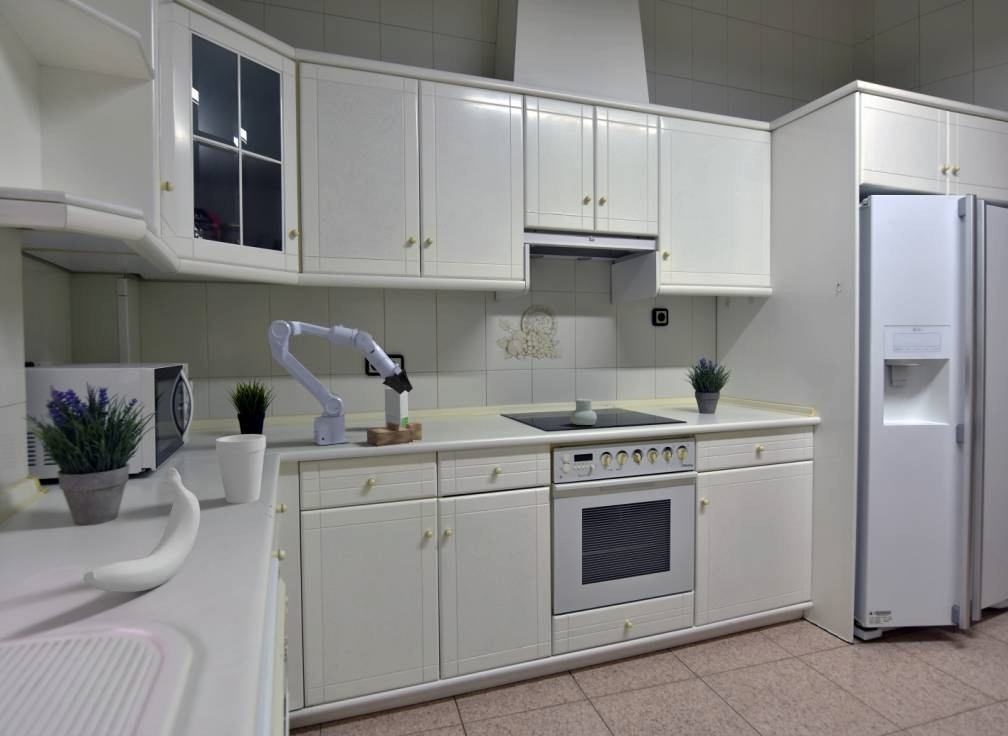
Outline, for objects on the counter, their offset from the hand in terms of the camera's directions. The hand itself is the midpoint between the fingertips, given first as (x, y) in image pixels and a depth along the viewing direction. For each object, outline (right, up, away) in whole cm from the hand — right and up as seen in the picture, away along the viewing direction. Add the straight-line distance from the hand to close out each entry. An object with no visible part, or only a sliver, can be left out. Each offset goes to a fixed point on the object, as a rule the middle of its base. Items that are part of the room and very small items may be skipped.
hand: (406, 391), depth 191 cm
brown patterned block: (+3, -16, -3) cm, 17 cm away
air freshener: (+64, -14, +25) cm, 70 cm away
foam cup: (-22, -20, -73) cm, 79 cm away
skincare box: (-7, -15, +20) cm, 26 cm away
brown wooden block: (-4, -16, -8) cm, 19 cm away
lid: (-4, -13, -8) cm, 16 cm away
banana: (-15, -22, -114) cm, 117 cm away
